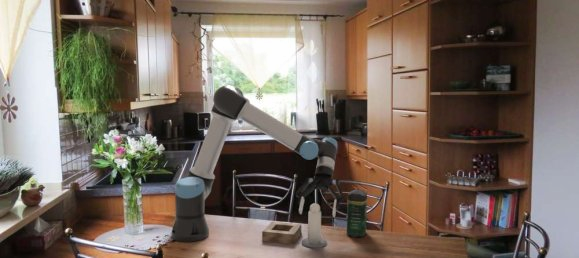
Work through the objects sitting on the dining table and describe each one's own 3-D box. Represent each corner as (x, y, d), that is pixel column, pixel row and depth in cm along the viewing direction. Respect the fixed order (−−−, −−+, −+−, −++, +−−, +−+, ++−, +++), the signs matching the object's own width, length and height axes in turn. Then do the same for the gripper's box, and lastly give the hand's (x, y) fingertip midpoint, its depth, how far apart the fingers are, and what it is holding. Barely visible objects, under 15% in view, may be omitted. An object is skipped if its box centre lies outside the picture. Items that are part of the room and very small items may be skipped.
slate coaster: (298, 246, 160) (298, 244, 160) (304, 237, 169) (304, 236, 169) (324, 249, 157) (324, 247, 157) (328, 240, 167) (328, 238, 167)
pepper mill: (306, 243, 162) (307, 204, 160) (309, 238, 166) (310, 201, 165) (319, 244, 160) (320, 205, 159) (321, 240, 165) (322, 202, 164)
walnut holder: (262, 241, 165) (262, 231, 165) (272, 230, 178) (272, 221, 177) (293, 244, 162) (293, 234, 162) (301, 233, 174) (301, 224, 174)
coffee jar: (364, 238, 169) (365, 194, 167) (345, 236, 172) (345, 192, 170) (367, 231, 178) (368, 188, 176) (349, 229, 181) (350, 187, 179)
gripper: (354, 176, 176) (348, 221, 163) (298, 172, 183) (288, 215, 170) (353, 166, 171) (347, 212, 158) (295, 162, 177) (284, 206, 164)
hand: (316, 214), depth 164 cm, fingers open, 13 cm apart
